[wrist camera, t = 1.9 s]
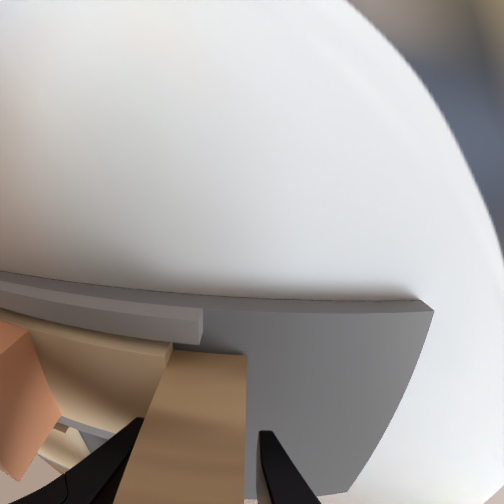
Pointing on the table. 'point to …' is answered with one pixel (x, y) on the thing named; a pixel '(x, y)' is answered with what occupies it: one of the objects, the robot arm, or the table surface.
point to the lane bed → (265, 361)
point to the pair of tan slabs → (64, 446)
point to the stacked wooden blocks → (152, 408)
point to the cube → (22, 402)
